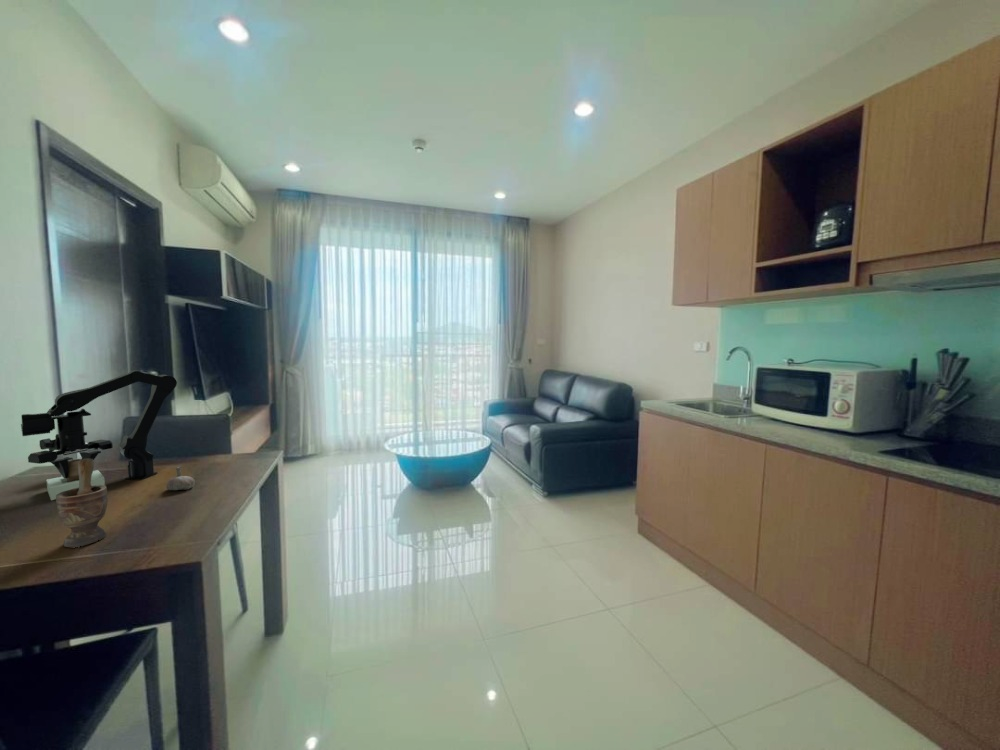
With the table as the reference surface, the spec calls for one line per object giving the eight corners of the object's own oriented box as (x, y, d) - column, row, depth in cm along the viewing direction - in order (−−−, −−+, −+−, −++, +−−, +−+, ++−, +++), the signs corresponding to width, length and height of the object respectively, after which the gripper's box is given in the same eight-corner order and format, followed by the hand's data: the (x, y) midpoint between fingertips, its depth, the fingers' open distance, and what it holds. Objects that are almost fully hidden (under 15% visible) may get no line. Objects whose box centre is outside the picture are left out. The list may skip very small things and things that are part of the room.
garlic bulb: (161, 491, 128) (160, 468, 127) (185, 484, 135) (184, 462, 134) (176, 494, 125) (175, 471, 125) (200, 486, 132) (198, 464, 132)
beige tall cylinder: (88, 484, 130) (86, 459, 129) (76, 489, 126) (73, 462, 125) (76, 484, 130) (74, 459, 129) (63, 489, 126) (61, 462, 125)
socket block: (99, 480, 136) (98, 470, 136) (105, 488, 129) (104, 477, 129) (47, 491, 127) (46, 479, 126) (50, 500, 120) (49, 488, 119)
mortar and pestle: (54, 539, 97) (46, 463, 95) (102, 525, 104) (96, 455, 102) (64, 553, 91) (57, 472, 89) (114, 537, 98) (108, 462, 96)
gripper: (89, 423, 137) (93, 464, 139) (13, 435, 119) (18, 483, 120) (112, 425, 135) (115, 467, 136) (38, 437, 117) (42, 486, 118)
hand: (75, 475), depth 128 cm, fingers open, 5 cm apart
